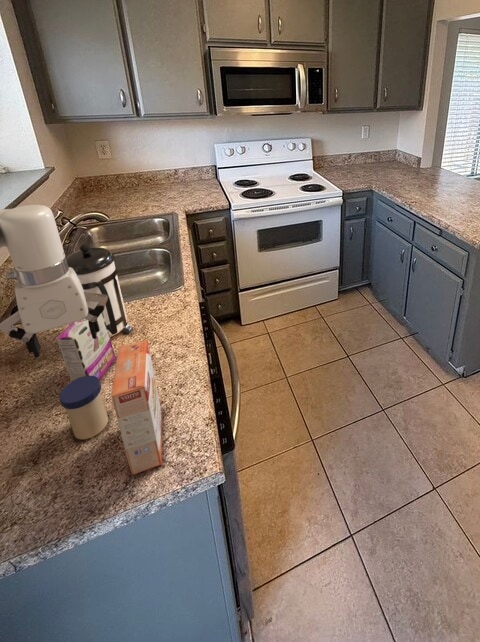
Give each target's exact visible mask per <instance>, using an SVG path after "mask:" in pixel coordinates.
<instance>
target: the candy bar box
mask: <svg viewBox="0 0 480 642" xmlns="http://www.w3.org/2000/svg"><path fill="white" fill-rule="evenodd" d="M97 321H98V324H99V329H100V331H99V332H97V338H96V339H93V338H92V335H91V331H90V328H89V323H88V320H87V319H82V320H79V321H76V322H73V323H70V324H68V326H67V327H66V328H65V329H64V330H63V331H62V332H61V333H60V334H59V335H58V336H57V337H56V338H55V340H56V343H57V346H58V348H59V351H60V354H61V357H62V359H63V362H64V365H65V368H66V371H67V373H68V377H69V380H70V382H72V381H73V380H75V379H77V378H80V377H83V376H95V377H97V378H98V379H99V381H100V380H101V379H102V378H103V377H104V375H105V374H106V372H107V370H109V368H110V367H111V365H112V364H113V363H114V361H115V359H117V356H116V355H115V350H114V347H113V344H112V341H111V337H109V333H108V330H107V326H106V323H105V319H104V316H103V312H102V313H101V314H100V316H99V317H98V318H97Z"/></svg>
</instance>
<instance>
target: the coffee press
mask: <svg viewBox="0 0 480 642" xmlns="http://www.w3.org/2000/svg"><path fill="white" fill-rule="evenodd" d="M115 259H116V257H115V254H114V253H113V252H111V251H110V250H109V249H108V248H106V247H99V246H93V247H91V245H89V244H86V243H84V244H81V245H80V247H79V250H76V251H73V252H72V253H70V254H69V255H67V257H66V260H67V263H68V267H71V268H73V270H74V271H75V273H76V274H77V276H78V278H79V280H80V283H81V285H82V287H83V290H84V292H86V293H96V294H106V295H107V298H108V300H107V302H106V305H105V307H104V311H103V316H104V319H105V323H106V326H107V330H108V333H109V337H110V338H112V337H114V336H115V335H117V334H119V333H120V332H123V333H125V334H127V335H128V334H130V333H131V332H132V331H133V327H131V326H130V325H129V324H128V315H127V311H126V307H125V303H124V302H125V301H124V298H123V294H122V290H121V286H120V282H119V281H120V280H119V278H118V269H117V265H115ZM87 303H88V305H87V306H88V307H90V308H92V309H94V308H95V307H96V306H97V305H98V302H94V301H87Z"/></svg>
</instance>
